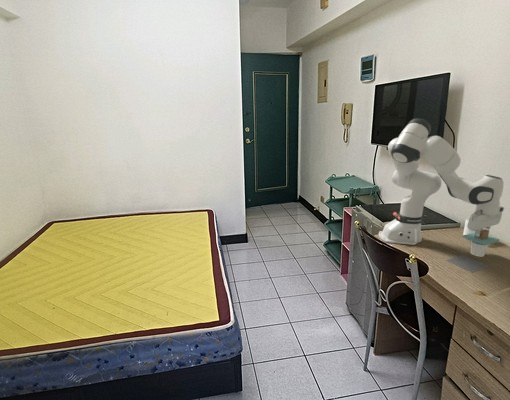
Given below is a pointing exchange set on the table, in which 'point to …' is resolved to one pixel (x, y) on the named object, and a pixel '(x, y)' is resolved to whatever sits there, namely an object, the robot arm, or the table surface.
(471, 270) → the mat
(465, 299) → the table surface
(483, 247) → the shot glass
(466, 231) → the mug
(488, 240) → the lid
